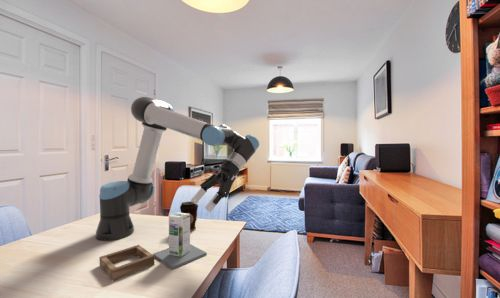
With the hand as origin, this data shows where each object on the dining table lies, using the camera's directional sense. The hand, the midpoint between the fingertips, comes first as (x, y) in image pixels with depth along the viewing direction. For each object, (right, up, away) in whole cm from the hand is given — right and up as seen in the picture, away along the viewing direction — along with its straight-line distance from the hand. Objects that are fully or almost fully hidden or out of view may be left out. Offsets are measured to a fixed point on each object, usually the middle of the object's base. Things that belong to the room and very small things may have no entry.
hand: (199, 206), depth 92 cm
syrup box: (-7, -17, -3) cm, 18 cm away
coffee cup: (-10, -17, +22) cm, 30 cm away
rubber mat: (-7, -17, -4) cm, 19 cm away
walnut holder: (-23, -18, -11) cm, 31 cm away
